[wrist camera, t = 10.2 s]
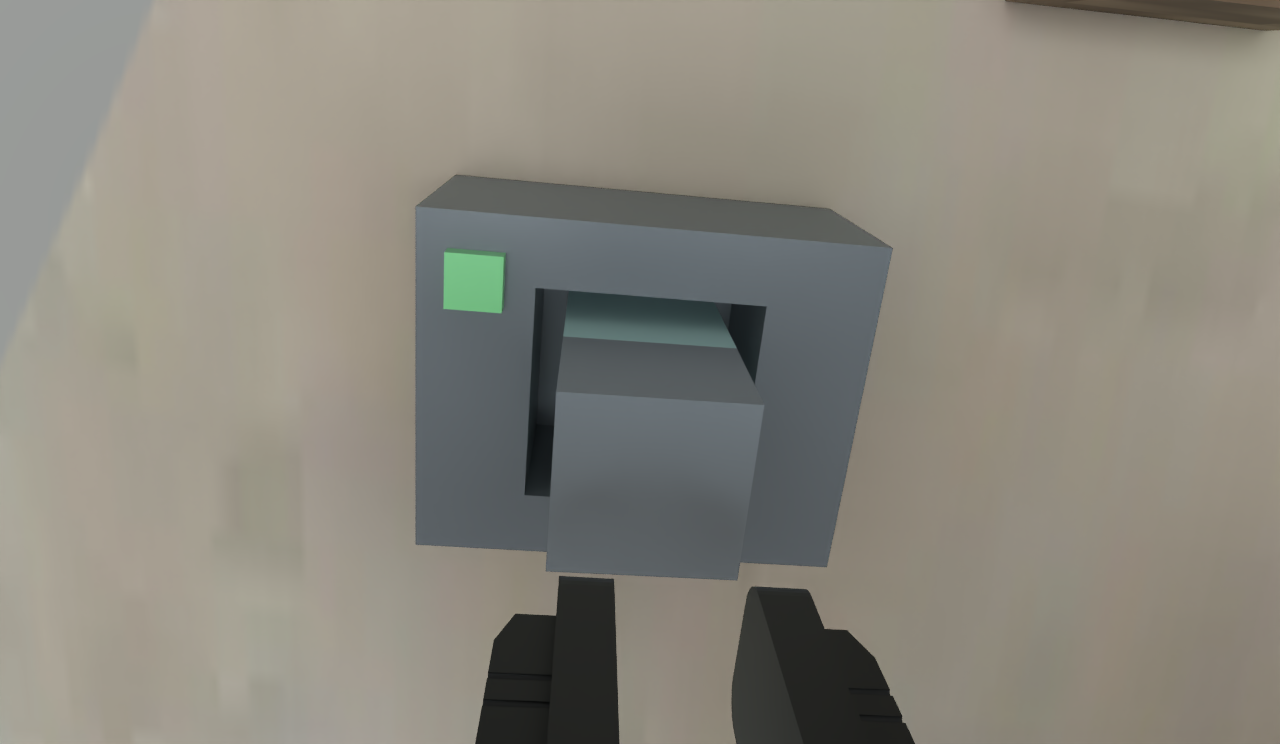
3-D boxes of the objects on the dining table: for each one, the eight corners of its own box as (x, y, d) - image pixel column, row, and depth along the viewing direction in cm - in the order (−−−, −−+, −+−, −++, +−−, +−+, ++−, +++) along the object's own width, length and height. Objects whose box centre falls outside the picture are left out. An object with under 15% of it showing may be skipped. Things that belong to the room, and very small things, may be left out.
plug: (706, 286, 22) (764, 404, 14) (691, 411, 23) (737, 580, 15) (570, 276, 21) (556, 391, 14) (562, 403, 23) (545, 571, 15)
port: (830, 208, 22) (899, 252, 17) (783, 472, 25) (831, 576, 20) (455, 175, 21) (411, 209, 16) (450, 451, 24) (411, 554, 19)
